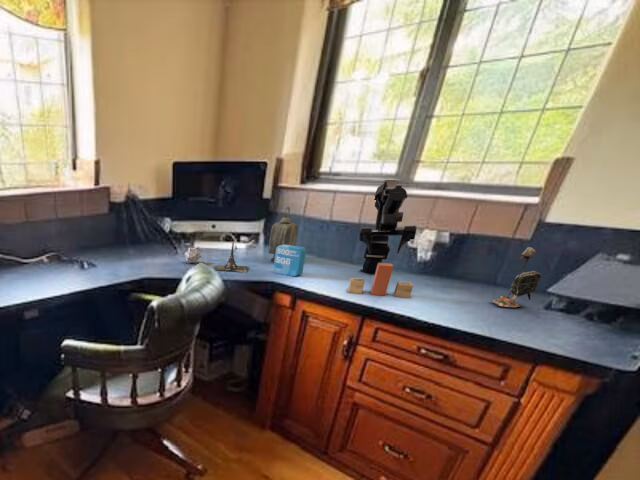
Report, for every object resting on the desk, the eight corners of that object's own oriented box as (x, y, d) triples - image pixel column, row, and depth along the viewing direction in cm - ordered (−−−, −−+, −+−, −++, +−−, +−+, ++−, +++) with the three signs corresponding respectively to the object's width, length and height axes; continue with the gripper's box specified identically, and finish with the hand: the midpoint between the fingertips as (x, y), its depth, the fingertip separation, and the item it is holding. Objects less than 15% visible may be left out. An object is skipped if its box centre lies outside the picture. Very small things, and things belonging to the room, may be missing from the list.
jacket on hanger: (276, 256, 219) (283, 205, 207) (293, 258, 215) (302, 206, 202) (266, 262, 209) (273, 208, 197) (284, 264, 204) (293, 209, 192)
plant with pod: (534, 310, 140) (563, 249, 131) (493, 307, 144) (519, 247, 134) (524, 303, 147) (550, 244, 137) (485, 300, 151) (508, 242, 141)
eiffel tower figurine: (248, 267, 201) (252, 238, 194) (245, 272, 193) (249, 242, 186) (217, 265, 206) (219, 237, 199) (213, 270, 197) (215, 240, 191)
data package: (272, 272, 192) (276, 245, 186) (277, 270, 194) (281, 243, 188) (297, 277, 184) (301, 249, 178) (302, 275, 186) (307, 247, 180)
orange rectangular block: (370, 291, 163) (378, 262, 158) (384, 292, 162) (392, 263, 156) (371, 294, 160) (379, 265, 154) (385, 295, 158) (393, 266, 153)
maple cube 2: (393, 293, 161) (397, 281, 158) (407, 294, 159) (411, 282, 157) (395, 296, 157) (398, 284, 155) (409, 297, 155) (413, 285, 153)
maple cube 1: (347, 289, 166) (350, 277, 164) (360, 290, 165) (363, 278, 162) (348, 292, 163) (351, 280, 160) (361, 293, 161) (364, 281, 159)
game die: (194, 270, 213) (208, 254, 209) (188, 267, 206) (201, 250, 202) (183, 259, 216) (195, 243, 212) (176, 256, 209) (189, 239, 204)
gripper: (363, 206, 162) (356, 242, 159) (421, 202, 152) (415, 241, 150) (362, 223, 171) (356, 257, 169) (417, 220, 162) (411, 257, 159)
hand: (383, 253), depth 161 cm, fingers open, 9 cm apart
